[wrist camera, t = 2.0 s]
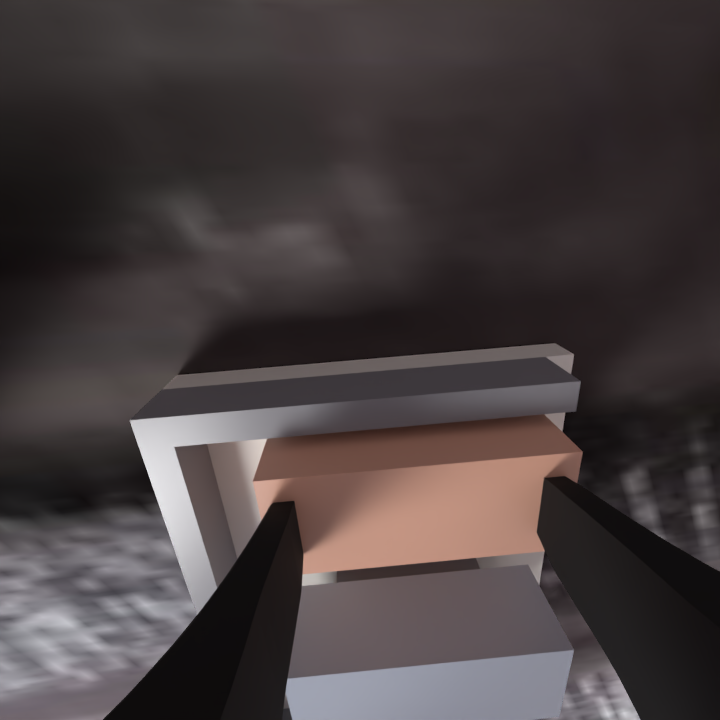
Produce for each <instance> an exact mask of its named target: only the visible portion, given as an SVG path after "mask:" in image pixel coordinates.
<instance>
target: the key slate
mask: <svg viewBox="0 0 720 720" xmlns="http://www.w3.org/2000/svg"><path fill="white" fill-rule="evenodd" d="M573 652H574V649H573V647H572V645H571V644H570V642H569V640H568V638H567V636H566V634H565V632H564V631H563V629H562V627H561V625H560V623H559V621H558V619H557V618H556V616H555V614H554V612H553V610H552V608H551V606H550V605H549V603H548V601H547V599H546V597H545V595H544V593H543V592H542V590H541V588H540V586H539V584H538V582H537V580H536V579H535V577H534V575H533V573H532V571H531V569H530V567H529V565H528V564H527V565H517V566H506V567H496V568H485V569H475V570H464V571H454V572H444V573H433V574H423V575H412V576H402V577H391V578H381V579H370V580H360V581H350V582H339V583H329V584H318V585H308V586H302V591H301V598H300V604H299V611H298V617H297V623H296V630H295V636H294V642H293V648H292V654H291V661H290V667H289V673H288V679H287V685H286V696H287V700H288V704H289V708H290V712H291V716H292V720H534V719H544V718H553V717H559V716H560V711H561V707H562V702H563V698H564V693H565V689H566V684H567V679H568V675H569V670H570V666H571V661H572V657H573Z"/></svg>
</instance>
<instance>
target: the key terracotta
mask: <svg viewBox="0 0 720 720" xmlns="http://www.w3.org/2000/svg"><path fill="white" fill-rule="evenodd" d="M582 454H583V451H581V450H580V449H579V448H578V447H577V446H576V445H575V444H574V443H573V442H572V441H571V440H570V439H569V438H568V437H567V436H566V435H565V434H564V433H563V432H562V431H561V430H560V429H559V428H558V427H557V426H556V425H555V424H554V423H553V422H552V421H551V420H550V419H549V418H547V417H546V416H545V415H544V414H541V415H530V416H519V417H507V418H496V419H485V420H473V421H462V422H451V423H439V424H428V425H417V426H405V427H394V428H383V429H371V430H360V431H349V432H337V433H326V434H315V435H303V436H292V437H281V438H269V439H267V440H266V443H265V446H264V449H263V452H262V455H261V458H260V461H259V464H258V467H257V470H256V473H255V476H254V479H253V485H254V490H255V494H256V499H257V503H258V508H259V512H260V517H261V520H262V519H263V517H264V515H265V513H266V512H267V510H268V508H269V506H270V505H271V504H272V503H275V502H286V501H294V502H295V508H296V513H297V519H298V525H299V531H300V536H301V542H302V548H303V554H304V556H303V574H312V573H322V572H333V571H343V570H354V569H364V568H375V567H385V566H396V565H406V564H417V563H427V562H438V561H448V560H459V559H469V558H480V557H490V556H501V555H511V554H522V553H532V552H543V551H545V550H544V548H543V546H542V543H541V541H540V539H539V537H538V534H537V525H538V518H539V511H540V503H541V496H542V489H543V482H544V478H548V477H559V476H566V477H567V478H569V479H571V480H572V481H574V482H576V483H577V482H578V476H579V470H580V465H581V459H582Z"/></svg>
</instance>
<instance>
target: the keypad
mask: <svg viewBox="0 0 720 720" xmlns="http://www.w3.org/2000/svg"><path fill="white" fill-rule="evenodd" d="M573 359H574V354H573V353H571V352H569V351H568V350H566V349H564V348H562V347H561V346H559V345H557V344H556V343H551V344H539V345H527V346H515V347H504V348H492V349H480V350H468V351H456V352H445V353H433V354H421V355H409V356H397V357H386V358H374V359H362V360H350V361H338V362H327V363H315V364H303V365H291V366H279V367H267V368H256V369H244V370H232V371H220V372H208V373H197V374H185V375H176V376H175V377H174V378H173V379H172V380H171V381H170V382H169V383H168V384H167V385H166V386H165V387H164V388H163V389H162V390H161V391H160V392H159V393H158V394H157V395H156V396H155V397H153V398H152V399H151V400H150V401H149V402H148V403H147V404H146V405H145V406H144V407H143V408H142V409H141V410H140V411H139V412H138V413H137V414H136V415H135V416H134V417H133V418H132V419H131V420H130V423H131V426H132V428H133V431H134V434H135V437H136V440H137V443H138V446H139V449H140V452H141V454H142V457H143V460H144V463H145V466H146V469H147V472H148V475H149V478H150V480H151V483H152V486H153V489H154V492H155V495H156V498H157V501H158V503H159V506H160V509H161V512H162V515H163V518H164V521H165V524H166V527H167V529H168V532H169V535H170V538H171V541H172V544H173V547H174V550H175V553H176V555H177V558H178V561H179V564H180V567H181V570H182V573H183V576H184V578H185V581H186V584H187V587H188V590H189V593H190V596H191V599H192V602H193V604H194V607H195V610H196V613H197V614H198V613H199V612H200V611H201V609H202V608H203V607H204V605H205V604H206V603H207V601H208V600H209V599H210V597H211V596H212V594H213V593H214V592H215V590H216V589H217V588H218V586H219V585H220V583H221V582H222V581H223V579H224V578H225V577H226V575H227V574H228V572H229V571H230V569H231V568H232V566H233V565H234V563H235V562H236V560H237V559H238V557H239V556H240V554H241V553H242V551H243V550H244V548H245V547H246V545H247V543H248V542H249V540H250V539H251V537H252V535H253V534H254V532H255V531H256V529H257V527H258V525H259V524H260V522H261V517H260V512H259V508H258V503H257V499H256V494H255V490H254V485H253V479H254V476H255V473H256V470H257V467H258V464H259V461H260V458H261V455H262V452H263V449H264V446H265V443H266V440H267V439H269V438H281V437H292V436H303V435H315V434H326V433H337V432H349V431H360V430H371V429H383V428H394V427H405V426H417V425H428V424H439V423H451V422H462V421H473V420H485V419H496V418H507V417H519V416H530V415H541V414H544V415H545V416H546V417H547V418H549V419H550V420H551V421H552V422H553V423H554V424H555V425H556V426H557V427H558V428H559V429H560V430H561V431H563V425H564V418H565V412H575V411H576V408H577V402H578V396H579V390H580V384H581V381H580V380H578V379H577V378H575V377H574V376H573V375H571V372H572V365H573ZM543 557H544V551H543V552H532V553H522V554H511V555H501V556H490V557H480V558H469V559H459V560H448V561H438V562H427V563H417V564H406V565H396V566H385V567H375V568H364V569H354V570H343V571H333V572H322V573H312V574H303V575H302V586H308V585H318V584H329V583H339V582H350V581H360V580H370V579H381V578H391V577H402V576H412V575H423V574H433V573H444V572H454V571H464V570H475V569H485V568H496V567H506V566H517V565H527V564H528V565H529V567H530V569H531V571H532V573H533V575H534V577H535V579H536V580H537V582H538V584H540V577H541V571H542V564H543ZM282 720H292V716H291V712H290V708H289V704H288V700H287V696H286V693H285V700H284V708H283V719H282Z"/></svg>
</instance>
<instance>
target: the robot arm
mask: <svg viewBox="0 0 720 720" xmlns="http://www.w3.org/2000/svg"><path fill="white" fill-rule="evenodd" d="M537 534H538V537H539V539H540V541H541V543H542V546H543V548H544V550H545V552H546V554H547V556H548V558H549V560H550V563H551V565H552V567H553V569H554V570H555V572H556V574H557V575H558V577H559V579H560V580H561V582H562V584H563V585H564V587H565V589H566V590H567V592H568V593H569V595H570V597H571V598H572V600H573V602H574V603H575V605H576V607H577V608H578V610H579V611H580V613H581V615H582V616H583V618H584V620H585V621H586V623H587V624H588V626H589V628H590V629H591V631H592V632H593V634H594V636H595V637H596V639H597V641H598V642H599V644H600V645H601V647H602V649H603V650H604V652H605V654H606V655H607V657H608V659H609V660H610V662H611V664H612V666H613V667H614V669H615V671H616V673H617V674H618V676H619V678H620V680H621V682H622V684H623V686H624V688H625V690H626V692H627V694H628V696H629V697H630V699H631V701H632V703H633V705H634V707H635V709H636V711H637V713H638V715H639V717H640V719H641V720H720V572H719V571H717V570H715V569H714V568H712V567H710V566H708V565H706V564H705V563H703V562H701V561H699V560H698V559H696V558H694V557H693V556H691V555H689V554H687V553H686V552H684V551H682V550H681V549H679V548H677V547H676V546H674V545H672V544H670V543H669V542H667V541H666V540H664V539H662V538H661V537H659V536H657V535H656V534H654V533H653V532H651V531H649V530H648V529H646V528H645V527H643V526H641V525H640V524H638V523H637V522H635V521H634V520H632V519H630V518H629V517H627V516H626V515H624V514H623V513H621V512H620V511H618V510H617V509H615V508H614V507H612V506H611V505H609V504H608V503H606V502H605V501H603V500H602V499H600V498H598V497H597V496H595V495H594V494H592V493H591V492H589V491H588V490H586V489H585V488H583V487H582V486H580V485H579V484H577V483H576V482H574V481H572V480H571V479H569V478H567V477H566V476H559V477H548V478H544V482H543V489H542V496H541V503H540V511H539V518H538V525H537ZM303 556H304V554H303V548H302V542H301V536H300V531H299V525H298V519H297V513H296V508H295V502H294V501H286V502H275V503H272V504H271V505H270V506H269V508H268V510H267V512H266V513H265V515H264V517H263V519H262V520H261V522H260V524H259V525H258V527H257V529H256V531H255V532H254V534H253V535H252V537H251V539H250V540H249V542H248V543H247V545H246V547H245V548H244V550H243V551H242V553H241V554H240V556H239V557H238V559H237V560H236V562H235V563H234V565H233V566H232V568H231V569H230V571H229V572H228V574H227V575H226V577H225V578H224V579H223V581H222V582H221V583H220V585H219V586H218V588H217V589H216V590H215V592H214V593H213V594H212V596H211V597H210V599H209V600H208V601H207V603H206V604H205V605H204V607H203V608H202V609H201V611H200V612H199V613H198V614H197V616H196V617H195V618H194V619H193V621H192V622H191V623H190V624H189V626H188V627H187V628H186V629H185V631H184V632H183V633H182V634H181V635H180V637H179V638H178V639H177V640H176V641H175V643H174V644H173V645H172V646H171V647H170V649H169V650H168V651H167V652H166V653H165V654H164V655H163V656H162V658H161V659H160V660H159V661H158V662H157V663H156V664H155V665H154V667H153V668H152V669H151V670H150V671H149V672H148V673H147V674H146V676H145V677H144V678H143V679H142V680H141V681H140V682H139V683H138V684H137V685H136V686H135V687H134V689H133V690H132V691H131V692H130V693H129V694H128V695H127V696H126V697H125V698H124V699H123V700H122V701H121V702H120V703H119V704H118V705H117V706H116V707H115V708H114V709H113V710H112V711H111V712H110V713H109V714H108V715H107V716H106V717H105V718H104V719H103V720H282V719H283V708H284V700H285V693H286V685H287V679H288V673H289V667H290V661H291V654H292V648H293V642H294V636H295V630H296V623H297V617H298V611H299V604H300V598H301V591H302V575H303Z"/></svg>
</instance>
